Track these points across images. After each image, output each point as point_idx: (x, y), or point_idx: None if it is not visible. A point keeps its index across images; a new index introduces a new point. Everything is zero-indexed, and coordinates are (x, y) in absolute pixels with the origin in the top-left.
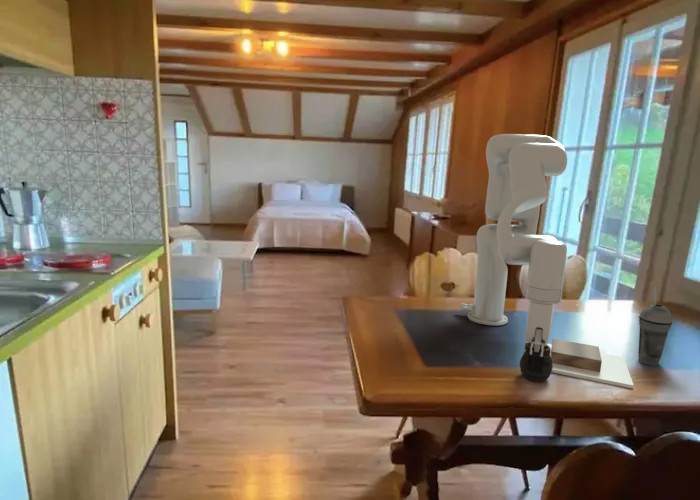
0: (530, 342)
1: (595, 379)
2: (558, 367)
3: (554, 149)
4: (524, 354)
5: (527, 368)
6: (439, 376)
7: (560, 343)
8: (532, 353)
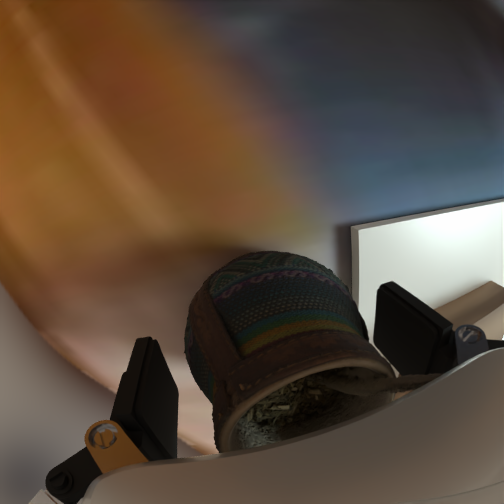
0: (376, 370)
1: None
2: (380, 352)
3: None
4: (256, 321)
5: (136, 344)
6: (29, 7)
7: (493, 328)
8: (79, 451)
